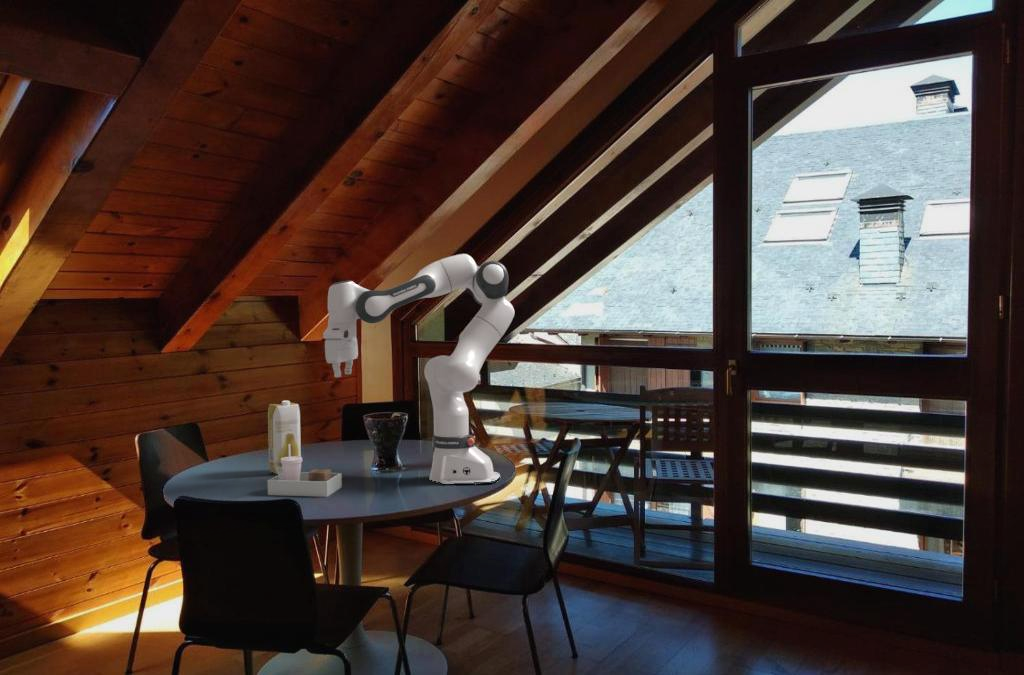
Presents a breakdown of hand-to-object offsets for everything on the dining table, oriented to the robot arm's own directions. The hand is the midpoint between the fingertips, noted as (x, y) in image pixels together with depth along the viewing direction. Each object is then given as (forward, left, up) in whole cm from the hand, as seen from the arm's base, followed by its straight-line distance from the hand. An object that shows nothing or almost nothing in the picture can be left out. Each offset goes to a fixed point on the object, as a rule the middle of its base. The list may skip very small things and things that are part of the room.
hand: (343, 375), depth 260 cm
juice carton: (+23, -7, -33) cm, 41 cm away
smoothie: (+9, +20, -32) cm, 39 cm away
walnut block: (0, +20, -32) cm, 38 cm away
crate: (+5, +20, -33) cm, 39 cm away
